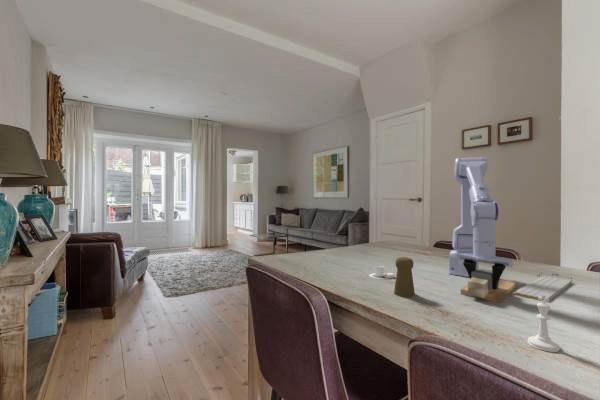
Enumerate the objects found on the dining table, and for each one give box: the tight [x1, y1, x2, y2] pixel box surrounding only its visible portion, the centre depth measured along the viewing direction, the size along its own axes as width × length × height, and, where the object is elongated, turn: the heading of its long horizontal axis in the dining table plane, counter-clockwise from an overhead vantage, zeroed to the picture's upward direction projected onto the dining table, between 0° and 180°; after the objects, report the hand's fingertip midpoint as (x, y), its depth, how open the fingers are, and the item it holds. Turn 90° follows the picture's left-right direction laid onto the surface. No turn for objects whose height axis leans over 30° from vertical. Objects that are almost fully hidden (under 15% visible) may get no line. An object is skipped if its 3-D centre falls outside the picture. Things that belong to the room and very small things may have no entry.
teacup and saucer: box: [368, 265, 396, 280], centre depth 110 cm, size 9×8×4 cm
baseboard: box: [510, 272, 573, 303], centre depth 96 cm, size 30×3×10 cm
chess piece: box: [527, 295, 561, 353], centre depth 58 cm, size 5×5×10 cm
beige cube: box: [467, 277, 488, 299], centre depth 85 cm, size 4×4×4 cm
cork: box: [393, 256, 416, 298], centre depth 90 cm, size 6×6×11 cm
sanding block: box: [471, 268, 499, 293], centre depth 89 cm, size 5×9×5 cm, turn 134°
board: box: [460, 278, 518, 303], centre depth 93 cm, size 10×22×2 cm, turn 134°
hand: (483, 286), depth 89 cm, fingers closed on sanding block, 5 cm apart
